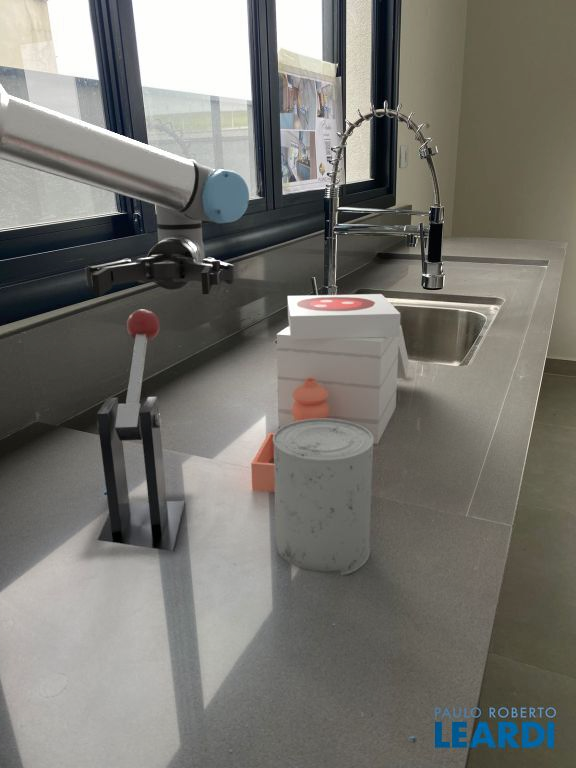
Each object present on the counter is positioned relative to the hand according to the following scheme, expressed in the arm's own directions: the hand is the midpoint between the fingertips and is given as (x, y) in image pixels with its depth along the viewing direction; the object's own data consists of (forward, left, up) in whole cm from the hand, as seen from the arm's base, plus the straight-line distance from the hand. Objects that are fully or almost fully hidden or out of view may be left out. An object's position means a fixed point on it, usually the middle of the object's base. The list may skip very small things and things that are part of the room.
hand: (150, 284), depth 76 cm
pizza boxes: (+22, +22, -23) cm, 39 cm away
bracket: (+7, -20, -23) cm, 31 cm away
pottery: (+20, 0, -23) cm, 31 cm away
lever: (+5, -13, -8) cm, 16 cm away
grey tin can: (+26, -18, -23) cm, 39 cm away
